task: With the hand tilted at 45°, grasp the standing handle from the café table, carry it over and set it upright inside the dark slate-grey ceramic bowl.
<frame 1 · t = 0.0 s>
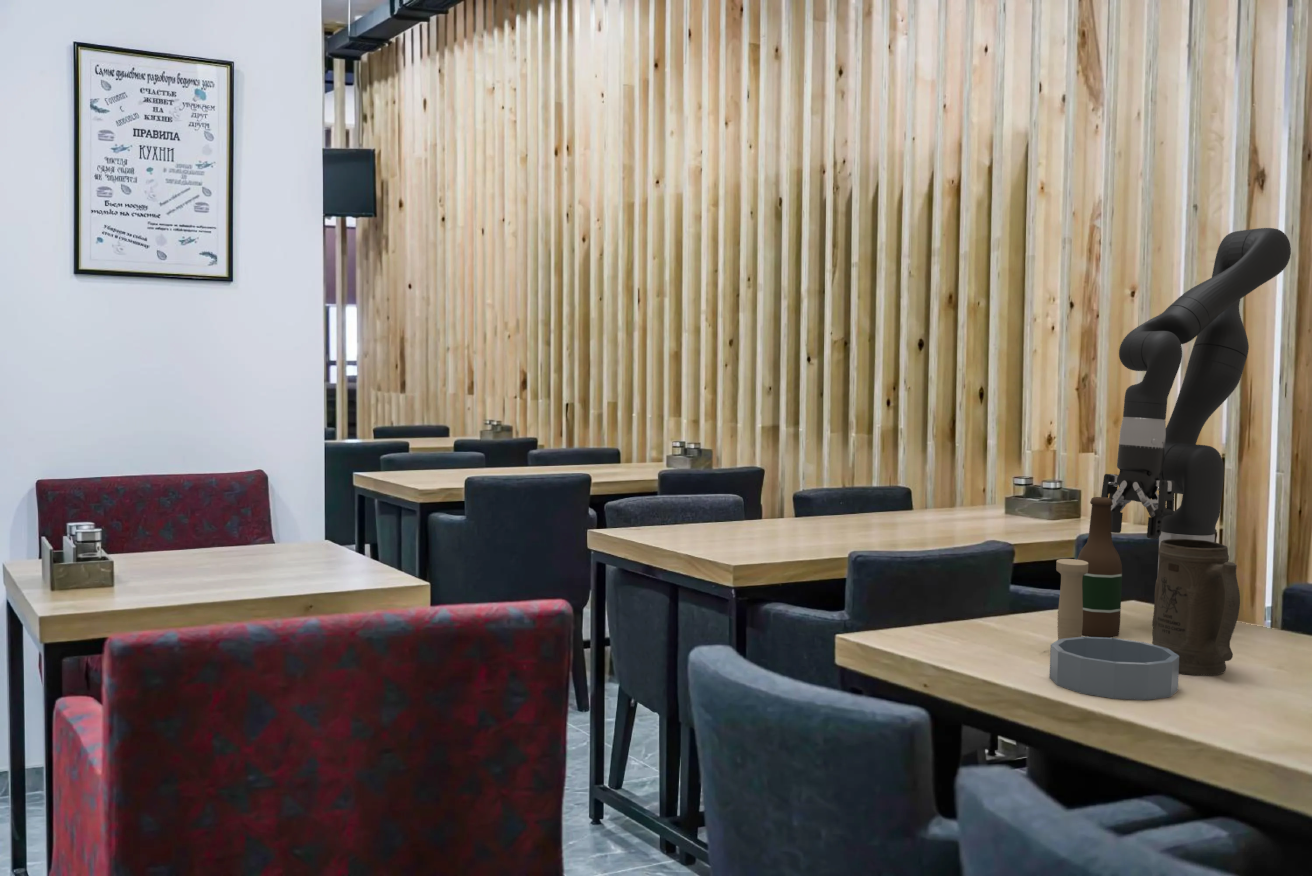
hand: (1133, 535, 210), 17 cm above the table, tool pointing down, fingers open, 8 cm apart
handle: (1068, 654, 193), on the table
beer stein: (1200, 672, 183), on the table
beer bottle: (1096, 634, 209), on the table
bowl: (1112, 683, 174), on the table
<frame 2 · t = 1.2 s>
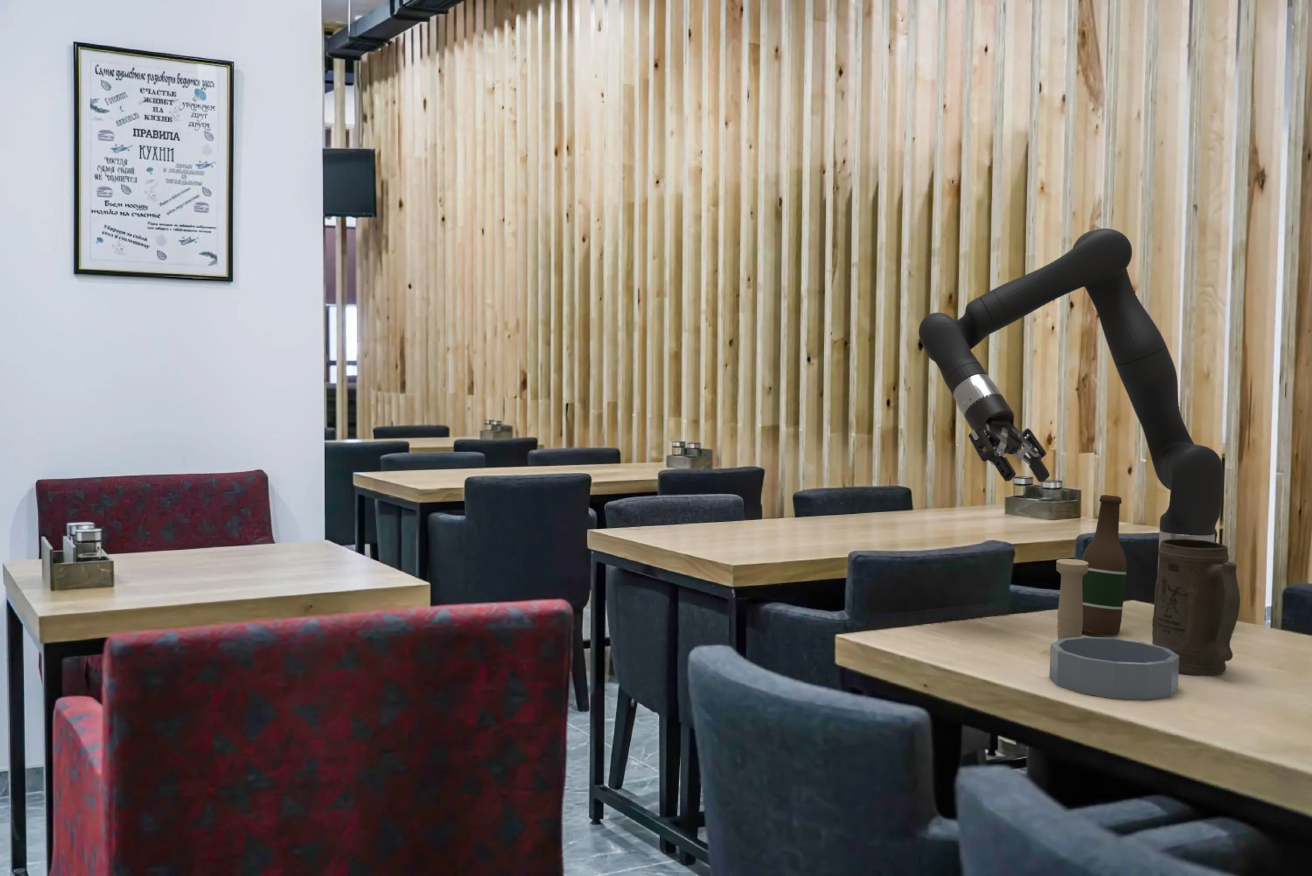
hand: (1028, 478, 201), 28 cm above the table, tool tilted 40°, fingers open, 8 cm apart
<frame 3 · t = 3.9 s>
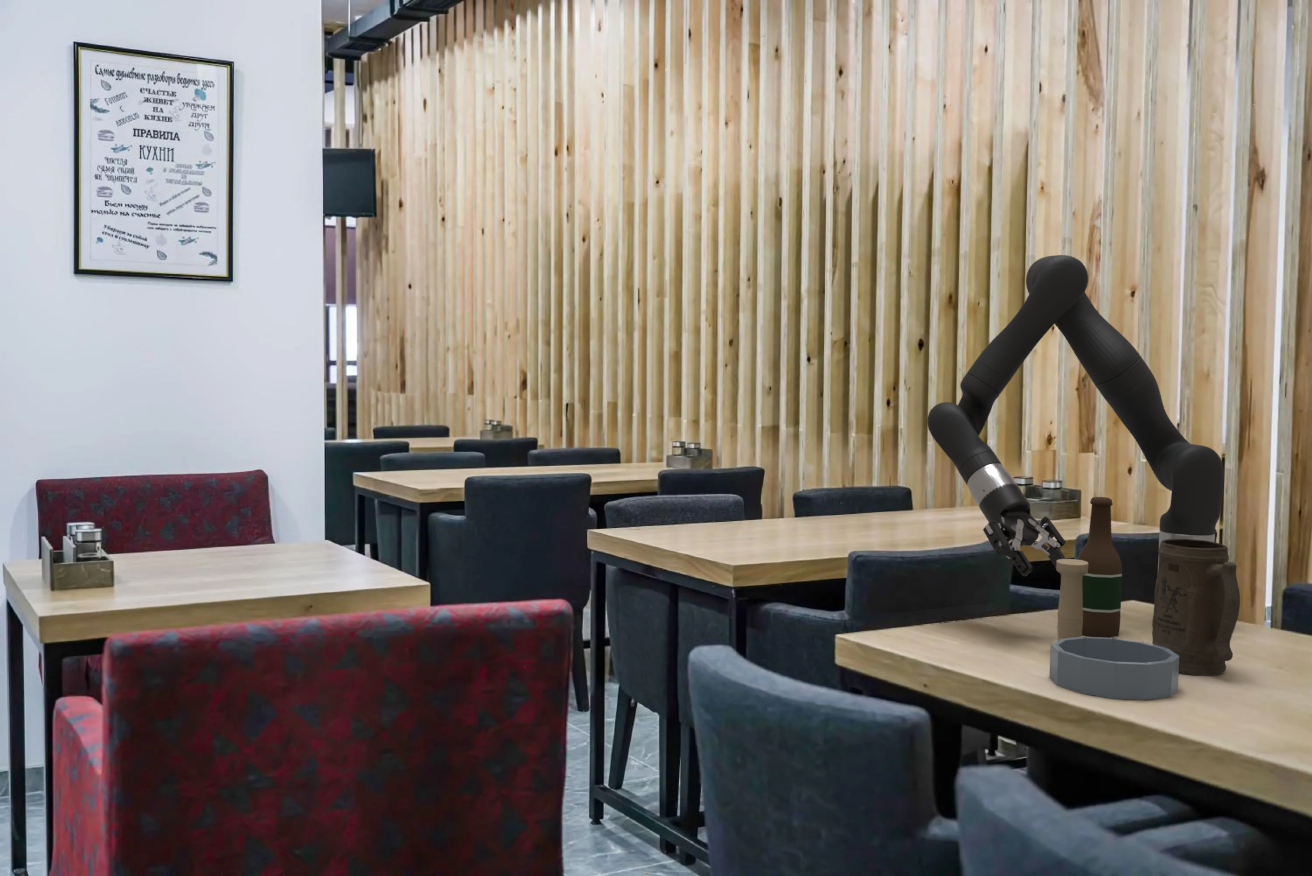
hand: (1046, 571, 197), 13 cm above the table, tool tilted 45°, fingers open, 8 cm apart
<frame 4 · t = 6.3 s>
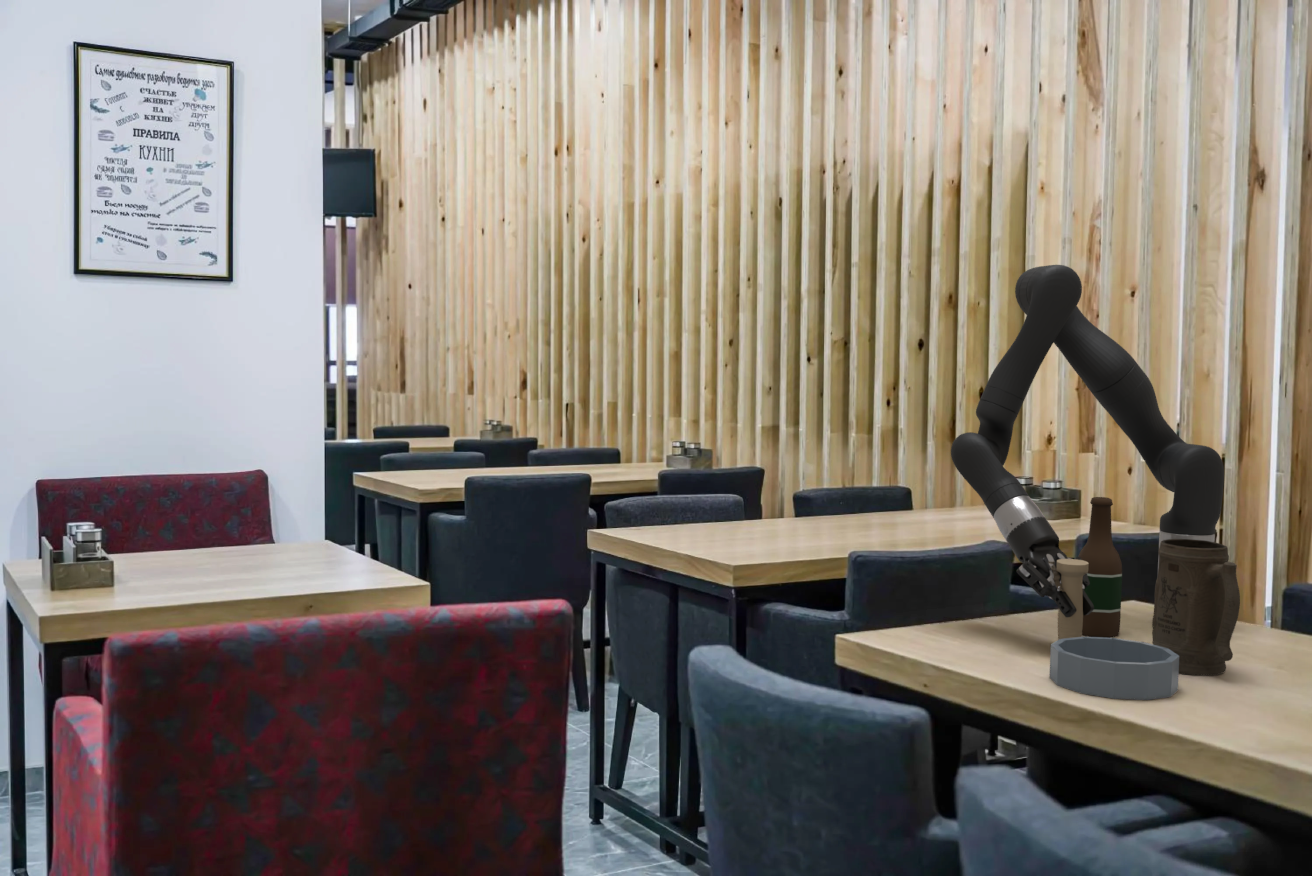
hand: (1080, 613, 191), 7 cm above the table, tool tilted 45°, fingers closed on handle, 3 cm apart
handle: (1068, 654, 193), on the table, touching gripper
everything else where it was.
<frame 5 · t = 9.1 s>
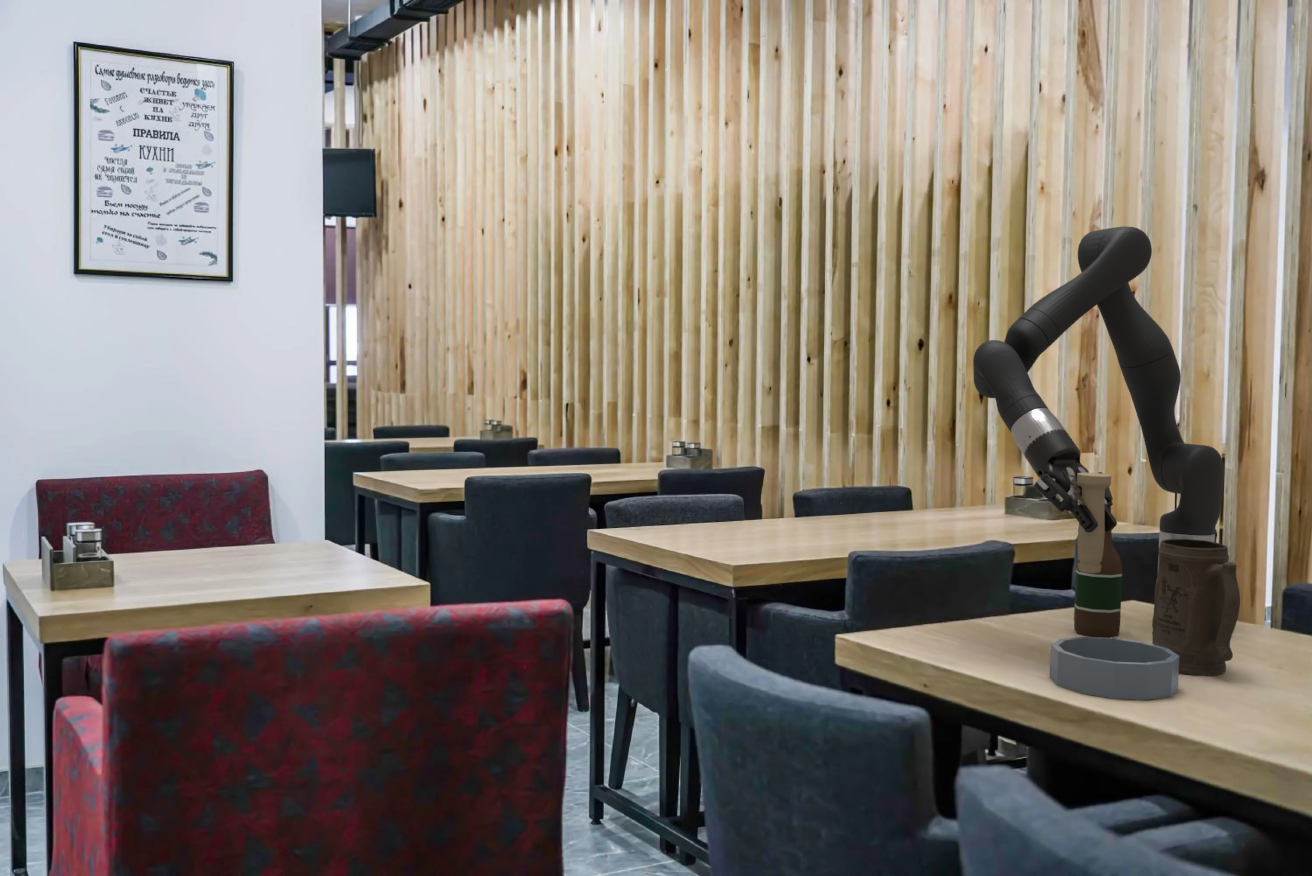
hand: (1102, 528, 180), 22 cm above the table, tool tilted 45°, fingers closed on handle, 3 cm apart
handle: (1089, 573, 182), point 15 cm above the table, touching gripper
everything else where it was.
when the fingers open (9 cm above the table, at t = 12.3 s): handle drops 1 cm, resting on bowl.
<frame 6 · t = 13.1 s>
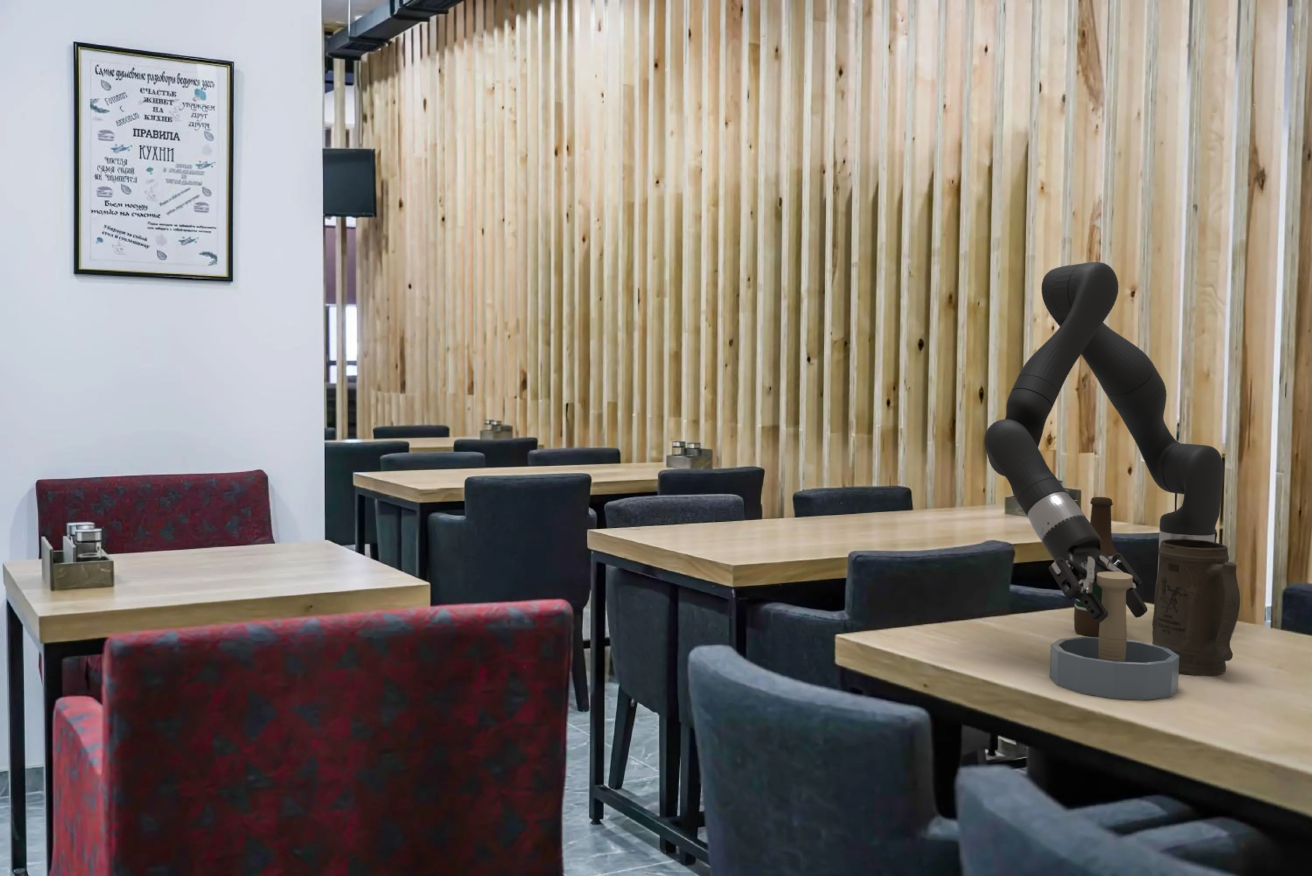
hand: (1123, 616, 173), 10 cm above the table, tool tilted 45°, fingers open, 8 cm apart
handle: (1111, 677, 175), point 1 cm above the table, touching bowl
everything else where it was.
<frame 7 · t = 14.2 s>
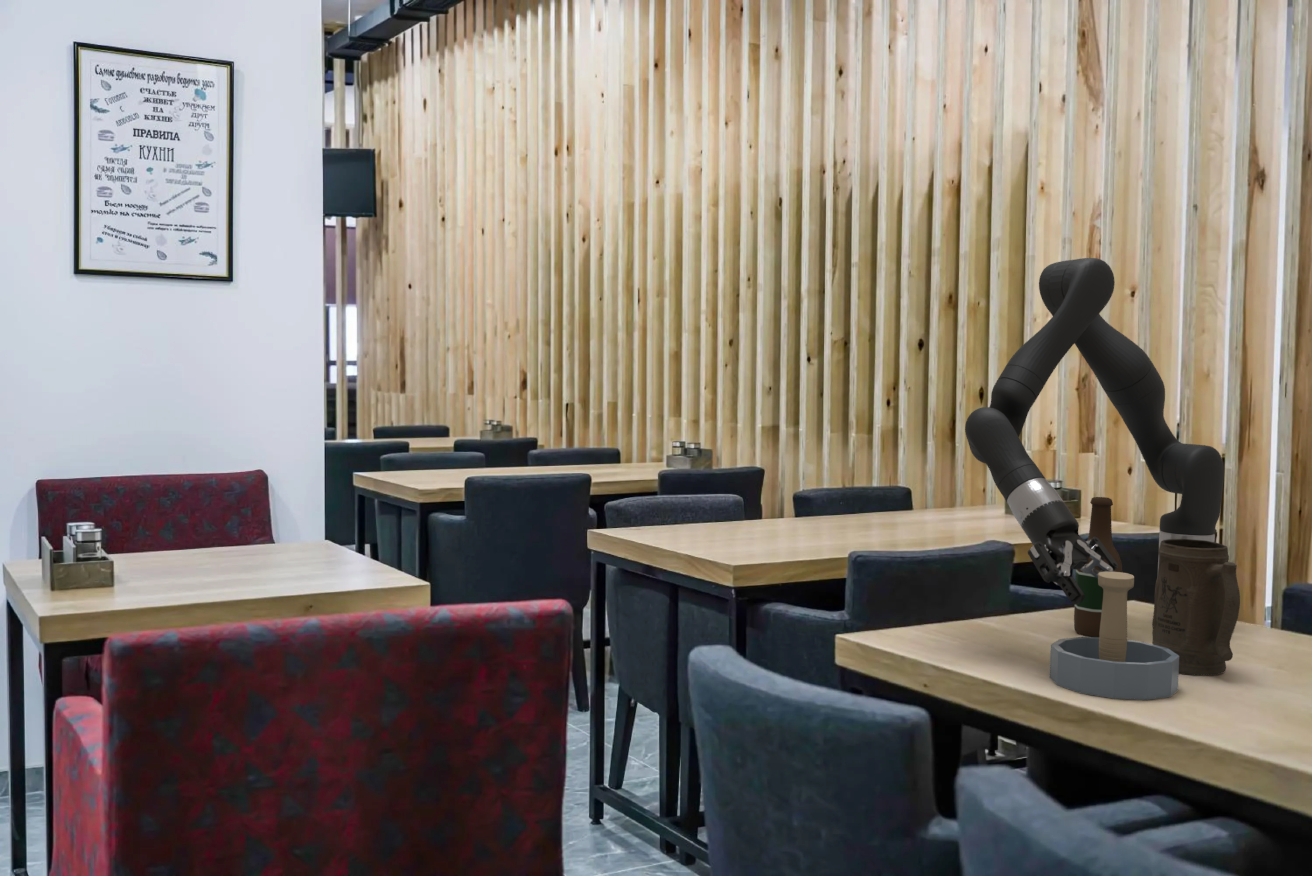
hand: (1099, 599, 176), 12 cm above the table, tool tilted 45°, fingers open, 8 cm apart
nothing on the table moved.
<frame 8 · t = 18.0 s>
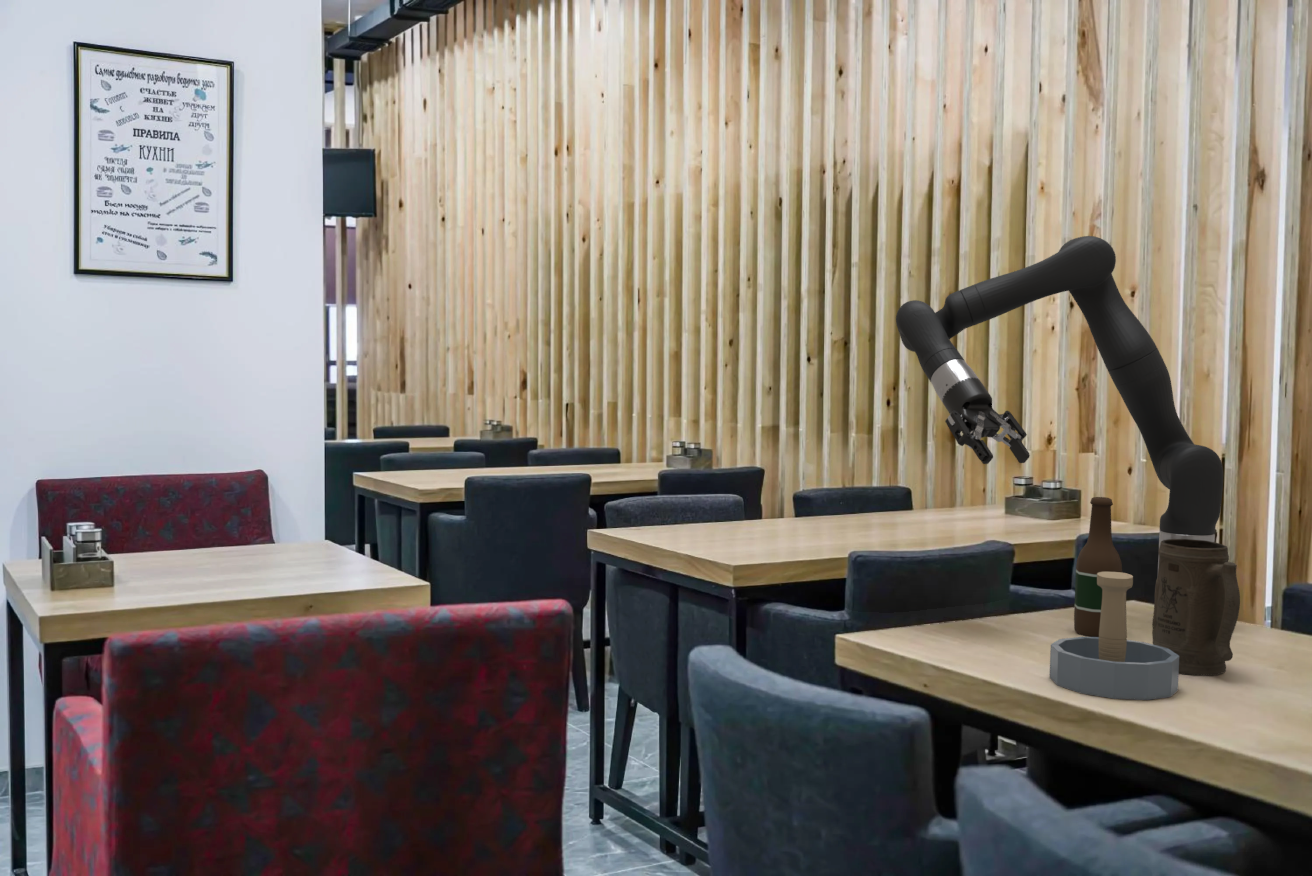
hand: (1007, 460, 200), 31 cm above the table, tool tilted 45°, fingers open, 8 cm apart
nothing on the table moved.
at the end: handle inside the target area on the bowl (0.3 cm from its centre), point 0.8 cm above the bowl's base; handle tilted 0°; the gripper is holding nothing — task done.
